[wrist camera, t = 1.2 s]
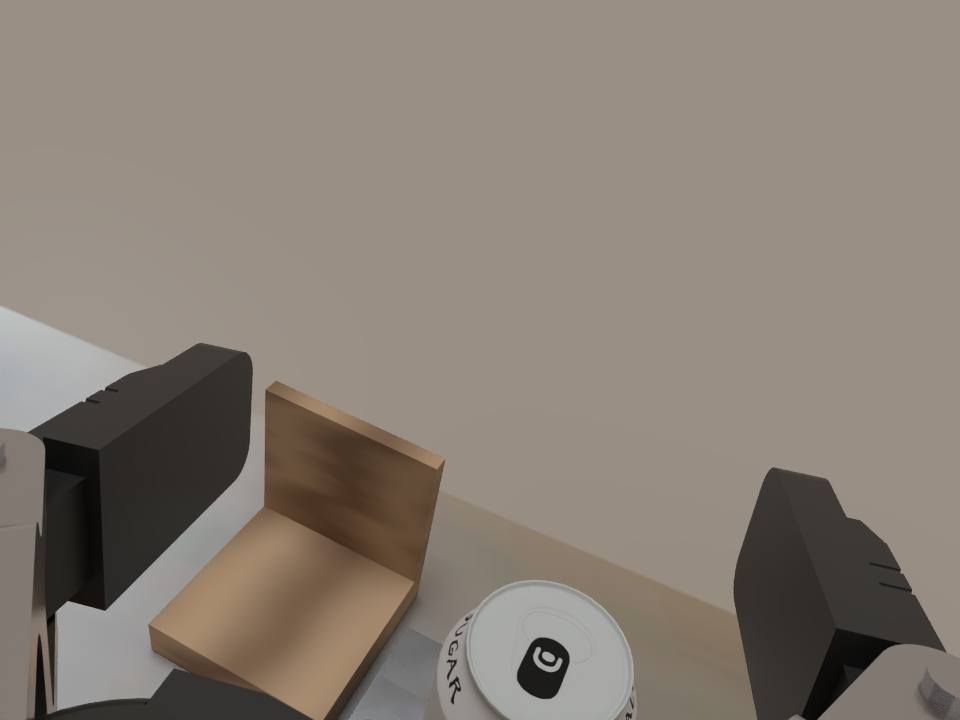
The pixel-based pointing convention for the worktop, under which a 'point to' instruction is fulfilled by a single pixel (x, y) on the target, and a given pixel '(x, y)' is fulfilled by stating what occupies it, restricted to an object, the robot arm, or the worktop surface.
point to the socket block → (401, 681)
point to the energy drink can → (534, 660)
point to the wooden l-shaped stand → (310, 561)
